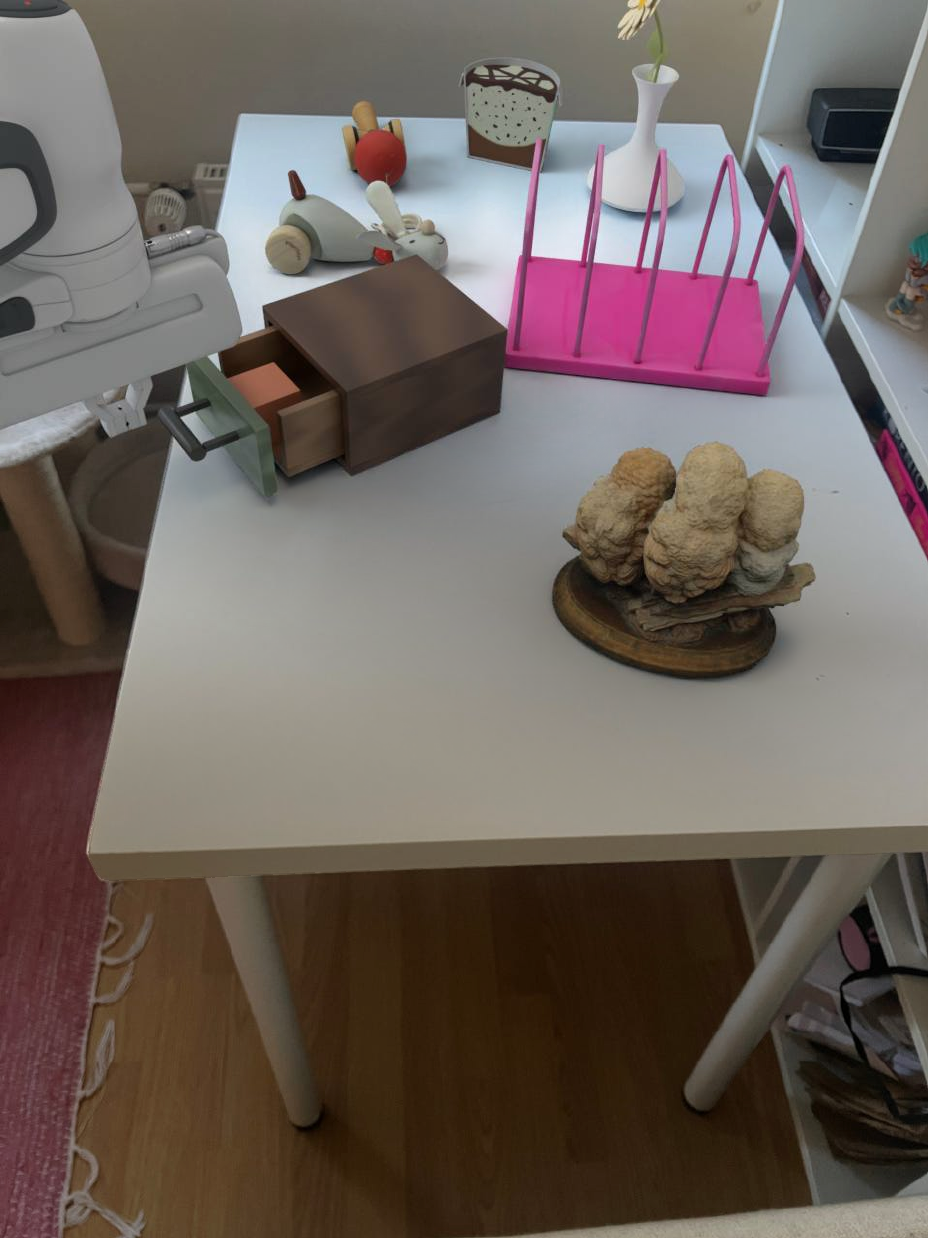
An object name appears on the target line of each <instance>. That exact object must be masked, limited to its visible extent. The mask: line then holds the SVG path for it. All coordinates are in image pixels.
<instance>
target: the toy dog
mask: <svg viewBox="0 0 928 1238" xmlns="http://www.w3.org/2000/svg"><path fill="white" fill-rule="evenodd" d="M287 177H288V182H289V188H290V193H291V196H292V197H293V198H291V199H289V200H288V201H287V202H286V203H285V204H284V206H283V207H282V209H281V210H280V214H279V218H278V226H277V227H276V228H274V229H273V230H272V231H271V232H270V234H269V236H268V238H267V240H266V242H265V246H264V251H265V257H266V259H267V261H268V263H269V264H270V265H271V266H272V268H273V269H275V270H276V271H278V272H280V273H282V274H286V275H295V274H299V273H301V272H302V271H303V270H305V269H306V267H307V265H309V264H308V263H309V262H310V259H312V260H313V259H314V260H318V261H326V262H335V263H338V262H339V263H348V262H365V261H370V260H371V259H372V257H374V258H375V260H376V262H378V263H380V264H382V265H386V264H389V263H392V262H395V261H398V260H401V259H404V258H407V257H410V256H413V255H415V254H417V255H418V256H420V257H421V258H422V259H423V260H424V261H426V262H427V263H428V264H429V265H430V266H432V267H433V268H434V269H435V270H436V271H439V270H441V268H443V267H444V266H445V265H446V263H447V261H448V256H449V247H448V242H447V239H446V237H445V236H444V235H443V234H442V233H441V232H440V231H438V230H436V225H435V223H434V222H433V220H431V219H424V220H423V219H422V217H421V216H420V215H418V214H417V213H412V212H409V213H402V214H401V211H400V209H399V204H398V203H397V201H396V197H395V195H394V194H393V191H392V189H391V188H390V187H391V186H388V185H387V184H386V183H385V182H383V181H375V182H372V183H371V184H368V186H366V190H365V199H366V202H367V204H368V205H369V206H370V208H371V209H372V210H373V211H374V212H375V214H376V215H377V217H378V218H379V219H380V220H381V223H380V224H378V223H376V222H371V224H370V228H372V229H373V230H371V229H370V230H369V229H367V227H366V226H364V225H363V224H362V223H361V221H359V220H358V219H357V218H356V217H354V216H353V215H352V214H351V213H349V212H347V211H346V210H345V209H344V208H342V207H340V206H339V205H337V204H336V203H333V202H332V201H330V200H329V199H326V198H324V197H322V196H319V195H317V194H310V193H309V194H308V193H307V190H306V187H305V186H304V184H303V182H302V180H301V178H300V176H299V174H298V173H297V171H296V170H295V169H291V170H288V172H287ZM407 229H414V230H412V231H410V230H407Z"/></svg>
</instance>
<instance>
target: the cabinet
mask: <svg viewBox="0 0 928 1238" xmlns="http://www.w3.org/2000/svg"><path fill="white" fill-rule="evenodd" d="M261 308H262V317H263V324H264V329H265V328H267V327H270V326H273V325H274V326H275V327H276V328H277V329H278V330H279V331H280V332H281V333H282V334H283V335H284V336H285V337H286V338H287V339H288V340H289V341H290V342H291V344H292V345H293V346H294V347H295V348H296V349H297V350H298V351H299V352H300V353H301V354H302V355H303V356H304V357H305V358H306V359H307V360H308V361H309V362H310V363H311V364H312V365H313V366H314V367H315V368H316V369H317V370H318V371H319V372H320V373H321V374H322V375H323V376H324V377H325V378H326V379H327V380H328V381H329V382H330V383H331V384H332V385H333V386H334V387H335V388H336V389H337V391H338V392H339V393H340V394H341V395H342V407H343V424H344V442H345V454H343V455H341V456H338V457H336V458H334V459H335V460H336V461H337V462H338V463H339V464H340V465H341V467H342V468H343V469H344V470H345V471H346V472H347V474H349V475H350V476H351V477H352V476H354V475H357V474H360V473H361V472H364V471H366V470H369V469H371V468H373V467H376V466H378V465H381V464H383V463H385V462H387V461H390V460H392V459H394V458H397V457H400V456H402V455H404V454H406V453H409V452H411V451H413V450H415V449H418V448H420V447H423V446H425V445H427V444H429V443H432V442H434V441H437V440H439V439H441V438H443V437H446V436H448V435H450V434H453V433H455V432H458V431H460V430H462V429H465V428H467V427H469V426H472V425H474V424H476V423H478V422H481V421H484V420H486V419H488V418H491V417H492V416H495V415H497V414H500V413H501V407H502V406H501V404H502V396H503V395H502V394H503V387H504V386H503V384H504V373H505V366H504V364H505V354H506V343H507V333H508V327H506V326H504V325H503V324H502V323H501V322H500V321H498V320H497V319H496V318H495V317H493V316H492V315H491V314H490V313H489V312H487V311H486V309H483V307H481V306H480V305H479V304H478V303H476V301H474V300H473V299H471V297H469V295H467V294H466V293H465V292H463V291H462V290H461V289H460V288H458V286H456V285H455V284H454V283H452V282H451V281H450V280H449V279H447V278H446V276H444V275H442V274H441V273H440V272H439V270H435V269H434V268H433V267H432V266H430V265H429V264H428V263H427V262H426V261H424V260H423V259H422V258H421V257H420V256H418V255H417V254H415V255H413V256H410V257H407V258H404V259H401V260H398V261H393V262H392V263H389V264H382V265H380V266H377V267H373V268H371V269H368V270H366V271H362V272H359V273H355V274H352V275H350V276H347V277H344V278H341V279H338V280H335V281H332V282H329V283H326V284H323V285H320V286H317V287H314V288H310V289H308V290H304V291H302V292H299V293H295V294H293V295H290V296H287V297H283V298H280V299H278V300H274V301H272V302H269V303H266V304H262V306H261Z"/></svg>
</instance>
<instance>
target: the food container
mask: <svg viewBox="0 0 928 1238" xmlns="http://www.w3.org/2000/svg"><path fill="white" fill-rule="evenodd" d="M462 86H463V91H464V92H463V94H464V113H465V114H464V115H465V133H466V137H465V138H466V154H467V155H466V156H467V158H469V159H473V160H478V161H483V162H488V163H492V164H496V165H501V166H502V165H503V166H507V167H510V168H516V169H521V170H525V171H530V172H532V166H533V159H534V153H535V146H536V140H537V138H542V152H541V161H540V171H539V174H540V173H542V171H543V169H544V165H545V160H546V155H547V150H548V145H549V141H550V137H551V132H552V127H553V123H554V117H555V112H556V108H557V103H558V106H559V108H561V107H562V106H563V100H564V99H563V98H564V97H563V87H562V83H561V80H560V77H559V75H558V73H557V72H555V70H553V69H551V68H550V67H549V66H547V65H544V64H542V63H539V62H536V61H533V60H529V59H523V58H517V57H491V58H485V59H480V60H477V61H474V62H472V63H470V64H468V65H466V66H465V67H464V68H463V72H462V73H461V74H460V79H459V83H458V87H459V88H461V87H462Z"/></svg>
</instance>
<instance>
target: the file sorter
mask: <svg viewBox="0 0 928 1238" xmlns="http://www.w3.org/2000/svg"><path fill="white" fill-rule="evenodd" d="M605 150H606V149H605V144H601V143H600V144H598V147H597V152H596V158H595V163H596V164H595V163H594V164H595V170H594V177H593V184H592V190H591V191H590V199H589V203H588V210H587V211H588V212H587V217H586V226H585V231H584V237H583V244H582V245H583V246H582V251H581V258H580V260H577V259H566V258H556V257H546V256H534V255H532V253H533V252H532V251H533V240H534V231H535V223H536V222H535V221H536V212H537V202H538V193H539V192H538V191H539V180H540V173H539V171H540V161H541V152H542V138H537V140H536V146H535V153H534V159H533V166H532V171H530V172H531V173H530V180H529V186H528V193H527V201H526V207H525V208H526V210H525V218H524V227H523V239H522V251H521V254H519V256H518V259H517V266H516V273H515V278H514V284H513V285H514V286H513V293H512V300H511V306H510V313H509V320H508V325H507V326H508V327H507V329H508V333H507V343H506V354H505V364H504V368H505V367H506V368H511V369H513V368H514V369H523V370H531V371H541V372H548V373H549V372H550V373H557V374H565V375H566V374H567V375H574V376H575V375H576V376H584V377H593V378H594V377H595V378H603V379H612V380H620V381H631V382H639V383H647V384H657V385H667V386H676V387H677V386H678V387H684V388H695V389H704V390H711V391H712V390H713V391H722V392H730V393H731V392H732V393H741V394H749V395H760V396H766V395H767V394H768V391H769V388H770V384H771V380H772V379H771V371H770V364H769V360H770V359H769V358H770V356H771V353H772V351H773V348H774V344H775V342H776V339H777V336H778V333H779V330H780V327H781V324H782V322H783V319H784V316H785V313H786V311H787V307H788V304H789V301H790V298H791V295H792V292H793V289H794V286H795V285H796V281H797V277H798V274H799V271H800V267H801V265H802V259H803V254H804V249H805V248H804V247H805V226H804V221H803V217H802V211H801V207H800V201H799V197H798V191H797V185H796V181H795V177H794V173H793V169H792V166H791V165H788V164H784V165H783V166H782V167H781V168H780V169H779V172H778V174H777V177H776V180H775V183H774V186H773V189H772V193H771V195H770V199H769V203H768V206H767V210H766V213H765V217H764V220H763V222H762V223H763V224H762V226H761V230H760V233H759V236H758V240H757V243H756V247H755V251H754V254H753V258H752V259H751V263H750V267H749V271H748V274H747V278H745V277H736V276H731V274H732V271H733V267H734V265H735V260H736V257H737V253H738V248H739V244H740V243H739V242H740V237H741V229H742V216H741V207H740V198H739V197H740V196H739V190H738V189H739V188H738V182H737V181H738V180H737V172H736V165H735V159H734V158H735V157H734V155H733V154H729V153H727V154H725V156H724V158H723V159H722V161H721V165H720V168H719V170H718V174H717V179H716V182H715V186H714V188H713V193H712V196H711V201H710V204H709V208H708V211H707V216H706V219H705V223H704V226H703V228H702V229H703V230H702V233H701V238H700V241H699V244H698V247H697V248H698V249H697V252H696V256H695V260H694V263H693V266H692V270H691V272H690V271H679V270H671V269H661V268H660V264H661V263H660V262H661V258H662V252H663V245H664V242H665V234H666V227H667V219H668V209H669V208H668V188H667V158H668V156H667V154H668V153H667V149H665V148H660V149H659V150H660V151H659V154H658V158H657V163H656V168H655V173H654V178H653V183H652V188H651V193H650V198H649V203H648V208H647V212H645V213H646V214H645V218H644V224H643V229H642V235H641V238H640V239H641V240H640V245H639V249H638V250H639V251H638V254H637V255H638V256H637V261H636V264H635V265H636V266H635V265H634V266H633V265H625V264H624V265H623V264H615V263H605V262H604V263H602V262H595V255H596V249H597V241H598V236H599V235H598V233H599V226H600V218H601V211H602V210H601V209H602V201H601V198H602V181H603V166H604V156H605ZM727 171H728V172H727ZM726 172H727V174H728V182H729V189H730V198H731V199H730V201H731V208H732V218H733V228H732V229H733V230H732V237H731V243H730V249H729V253H728V256H727V261H726V264H725V267H724V271H723V273H722V275H716V274H707V273H698V272H699V270H700V265H701V262H702V258H703V254H704V251H705V248H706V244H707V240H708V236H709V232H710V229H711V225H712V223H713V218H714V214H715V211H716V208H717V204H718V199H719V197H720V192H721V191H722V185H723V182H724V178H725V176H726ZM660 175H661V210H660V215H659V217H660V218H659V225H658V231H657V232H658V233H657V238H656V245H655V249H654V250H655V251H654V256H653V260H652V266H651V267H643V263H644V258H645V253H646V249H647V242H648V237H649V234H650V233H649V232H650V227H651V222H652V219H653V218H652V217H653V213H654V211H653V208H654V202H655V197H656V193H657V188H658V183H659V178H660ZM784 178H785V180H786V184H787V185H786V186H787V190H788V194H789V199H790V204H791V208H792V217H793V220H794V227H795V233H796V246H795V254H794V258H793V263H792V266H791V269H790V273H789V276H788V279H787V282H786V285H785V288H784V291H783V294H782V296H781V300H780V303H779V305H778V308H777V311H776V314H775V317H774V319H773V323H772V327H771V329H770V332H769V335H768V338H767V340H766V333H765V325H764V319H763V313H762V303H761V296H760V287H759V286H760V285H759V281H758V280H757V279H754V278H755V273H756V271H757V268H758V264H759V260H760V257H761V254H762V250H763V247H764V244H765V240H766V236H767V234H768V230H769V227H770V223H771V221H772V217H773V214H774V210H775V208H776V203H777V201H778V196H779V194H780V191H781V187H782V184H783V181H784ZM659 268H660V269H659Z"/></svg>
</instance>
